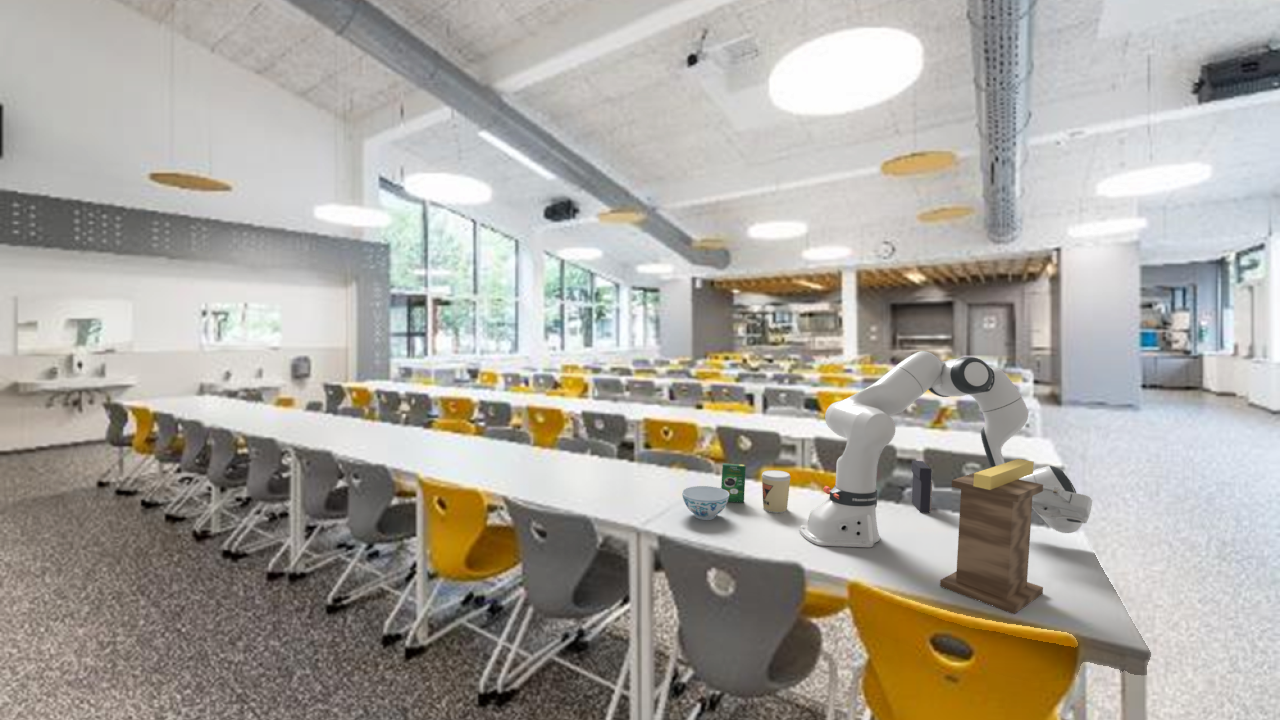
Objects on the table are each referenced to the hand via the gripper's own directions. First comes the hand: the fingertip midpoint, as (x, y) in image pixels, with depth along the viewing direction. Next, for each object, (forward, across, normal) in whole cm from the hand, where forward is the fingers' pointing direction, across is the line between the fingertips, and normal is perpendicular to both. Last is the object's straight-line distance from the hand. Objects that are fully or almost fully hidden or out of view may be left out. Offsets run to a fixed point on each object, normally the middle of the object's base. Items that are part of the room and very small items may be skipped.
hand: (1035, 485), depth 151 cm
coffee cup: (+6, -68, +29) cm, 74 cm away
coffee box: (+12, -82, +32) cm, 89 cm away
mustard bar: (+19, 0, +6) cm, 20 cm away
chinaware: (+27, -76, +41) cm, 91 cm away
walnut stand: (+10, 0, +30) cm, 32 cm away
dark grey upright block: (-30, -41, +8) cm, 51 cm away
